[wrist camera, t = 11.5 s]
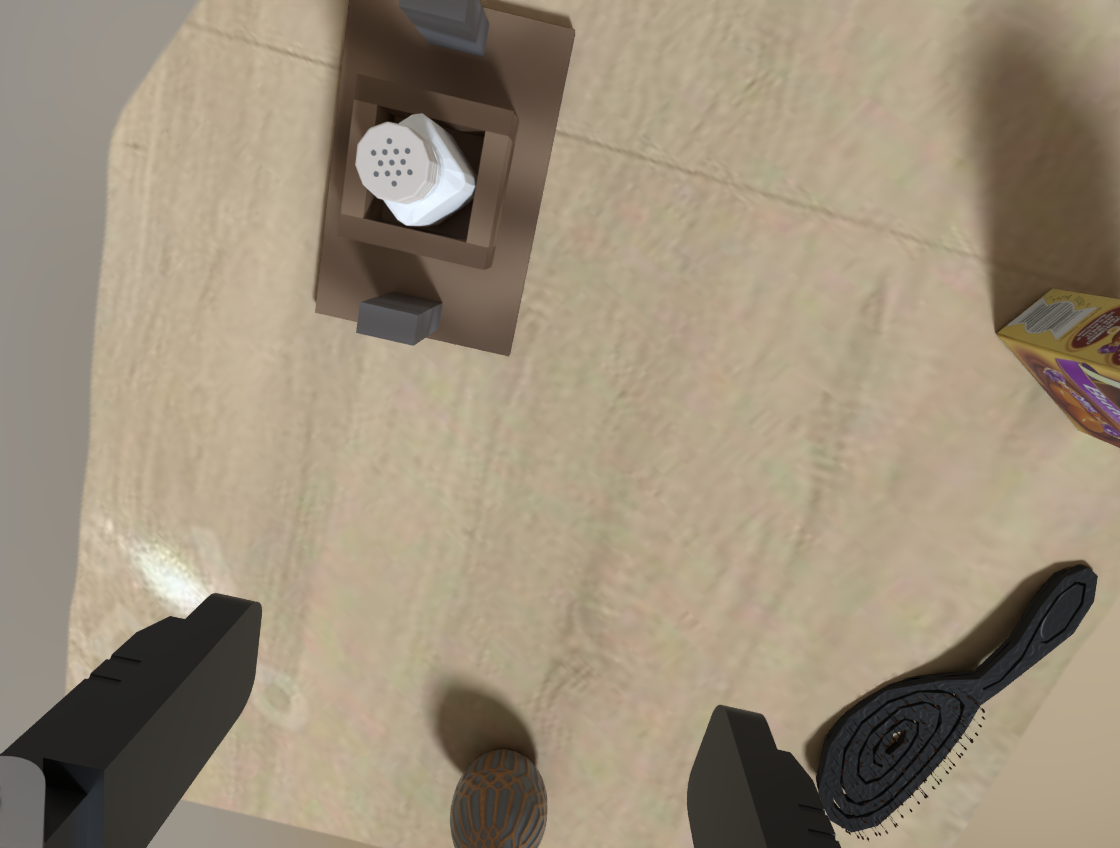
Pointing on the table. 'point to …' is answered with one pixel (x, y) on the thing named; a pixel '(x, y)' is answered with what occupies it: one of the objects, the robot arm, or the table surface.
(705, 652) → the table surface
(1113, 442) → the candy box
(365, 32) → the shaker holder
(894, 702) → the hairbrush
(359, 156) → the pepper shaker
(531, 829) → the vase
